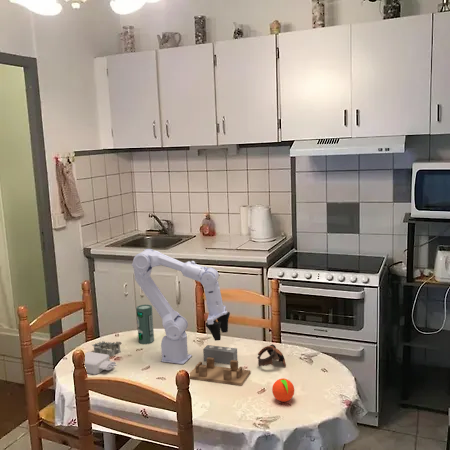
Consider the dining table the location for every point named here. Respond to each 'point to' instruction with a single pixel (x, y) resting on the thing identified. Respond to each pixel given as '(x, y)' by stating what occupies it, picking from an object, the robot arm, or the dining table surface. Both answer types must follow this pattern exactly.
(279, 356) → the brown open ring
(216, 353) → the power strip
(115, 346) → the egg carton
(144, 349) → the dining table surface
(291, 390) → the clementine
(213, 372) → the rack
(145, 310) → the can
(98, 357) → the charger
